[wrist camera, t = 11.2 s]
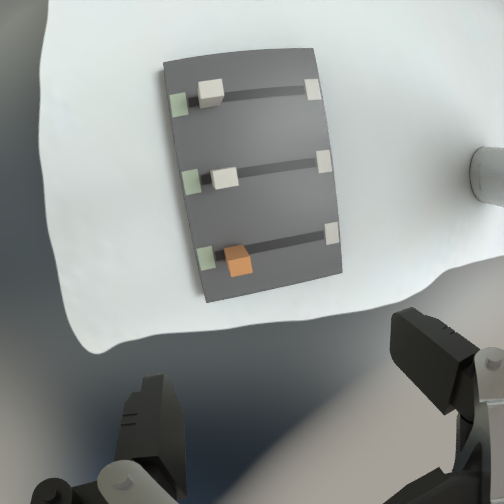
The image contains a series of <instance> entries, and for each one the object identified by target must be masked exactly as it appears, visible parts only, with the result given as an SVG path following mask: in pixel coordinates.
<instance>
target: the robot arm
mask: <svg viewBox="0 0 504 504" xmlns="http://www.w3.org/2000/svg"><path fill="white" fill-rule="evenodd" d="M470 179H471V185H472V189H473V192H474V194H475V196H476V197H477V198H478V199H479V200H480V201H481V202H484V203H489V204H493V205H497V206H501V207H504V148H494V147H482V148H479V149H478V150H477V151H476V153H475V154H474V156H473V159H472V162H471V168H470ZM390 354H391V357H392V359H393V361H394V363H395V364H396V365H397V366H398V367H399V368H400V369H401V370H402V371H403V372H404V373H405V374H406V375H407V377H408V378H409V379H410V380H411V381H412V382H413V383H414V384H415V385H416V386H417V387H418V388H419V389H420V390H421V391H422V392H423V393H424V394H425V395H426V396H427V398H428V399H429V400H430V401H431V402H432V403H433V404H434V405H435V406H436V407H437V408H438V409H439V410H440V411H441V412H442V413H443V415H446V414H448V413H449V412H451V411H453V410H454V409H456V410H457V411H458V415H457V420H456V421H457V423H456V453H455V462H454V466H453V469H452V472H451V473H447V474H444V473H443V472H442V470H441V469H440V468H439V467H438V468H436V469H435V470H433V471H431V472H429V473H428V474H426V475H424V476H422V477H421V478H419V479H417V480H415V481H413V482H411V483H409V484H407V485H406V486H405V487H404V488H403V489H401V490H400V491H399V492H397V493H396V494H395V495H394V496H392V497H391V498H390V499H388V500H387V501H386V502H385V503H383V504H504V350H502V349H500V348H495V347H488V348H484V349H481V350H480V349H479V348H478V347H476V346H475V345H474V344H472V343H471V342H470V341H468V340H467V339H465V338H464V337H463V336H461V335H460V334H458V333H457V332H456V333H455V331H454V330H453V329H451V328H450V327H447V325H446V324H444V323H443V322H442V321H440V320H439V319H436V318H433V317H430V316H427V315H423V314H422V313H420V312H419V311H418V310H416V309H415V308H413V307H410V308H407V309H404V310H401V311H399V312H396V313H394V314H393V315H392V318H391V336H390ZM184 430H185V427H184V416H183V412H182V408H181V406H180V403H179V401H178V398H177V396H176V393H175V391H174V389H173V387H172V384H171V382H170V379H169V377H168V375H167V373H160V374H154V375H149V376H144V378H143V383H142V389H141V392H134V393H132V394H131V396H130V397H129V398H128V400H127V401H126V403H125V405H124V410H123V417H122V420H121V427H120V430H119V435H118V441H117V447H116V452H115V458H114V462H113V463H111V464H109V465H107V466H106V467H105V468H104V469H103V470H102V471H101V472H100V474H99V476H98V480H97V481H94V482H91V483H87V484H83V485H79V486H75V487H71V486H70V485H69V484H68V483H67V482H66V481H64V480H62V479H59V478H49V479H46V480H44V481H43V482H41V483H39V484H38V485H37V487H36V488H35V490H34V492H33V495H32V499H31V503H30V504H179V503H177V499H187V498H188V496H187V479H186V460H185V459H186V458H185V431H184Z"/></svg>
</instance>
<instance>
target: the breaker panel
mask: <svg viewBox="0 0 504 504" xmlns="http://www.w3.org/2000/svg"><path fill="white" fill-rule="evenodd" d="M163 66H164V74H165V82H166V89H167V96H168V103H169V110H170V117H171V123H172V130H173V136H174V142H175V148H176V154H177V160H178V166H179V172H180V177H181V183H182V189H183V194H184V199H185V205H186V210H187V215H188V220H189V225H190V230H191V235H192V240H193V245H194V250H195V254H196V259H197V264H198V268H199V273H200V277H201V282H202V286H203V291H204V295H205V299H206V303H209V302H214V301H219V300H224V299H229V298H234V297H238V296H243V295H248V294H252V293H257V292H262V291H266V290H271V289H275V288H280V287H284V286H289V285H293V284H297V283H302V282H306V281H310V280H315V279H319V278H323V277H327V276H331V275H336V274H340V273H342V257H341V243H340V230H339V218H338V208H337V198H336V188H335V180H334V171H333V163H332V155H331V148H330V141H329V134H328V127H327V121H326V114H325V108H324V102H323V96H322V91H321V85H320V80H319V75H318V69H317V64H316V59H315V55H314V50H313V48H288V49H264V50H249V51H238V52H228V53H219V54H211V55H204V56H197V57H191V58H185V59H179V60H174V61H168V62H163ZM242 244H243V246H244V247H245V249H246V251H247V252H248V254H249V255H250V259H251V265H252V271H253V273H249V274H244V275H239V276H235V277H231V275H230V272H229V269H228V266H227V263H226V258H225V253H224V248H227V247H232V246H237V245H242Z"/></svg>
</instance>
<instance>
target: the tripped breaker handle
mask: <svg viewBox="0 0 504 504" xmlns="http://www.w3.org/2000/svg"><path fill="white" fill-rule="evenodd" d="M224 253H225V258H226V263H227V266H228V269H229V272H230V275H231V277H235V276H239V275H244V274H249V273H253V271H252V265H251V259H250V255H249V254H248V252H247V251H246V249H245V247H244V246H243V244H242V245H237V246H232V247H227V248H224Z"/></svg>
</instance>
